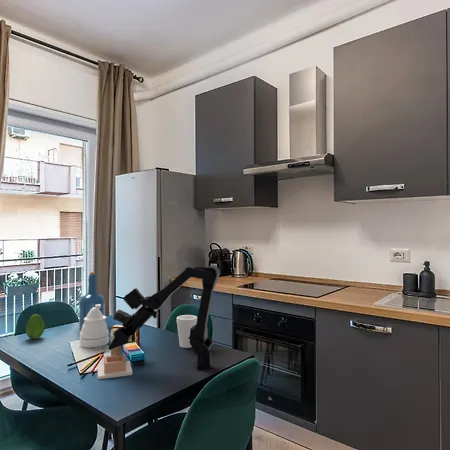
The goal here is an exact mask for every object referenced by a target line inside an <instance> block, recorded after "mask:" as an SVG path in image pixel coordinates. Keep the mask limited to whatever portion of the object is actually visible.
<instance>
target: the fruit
mask: <svg viewBox="0 0 450 450" xmlns="http://www.w3.org/2000/svg"><path fill="white" fill-rule="evenodd" d="M45 326H46V325H45V322H44V320H43V318H42V317H41V315H40V314H37V313H34V314H32V315H31V316H30V318H29V320H28V322H27V323H26V328H25V334H26V336H27V337H28V338H29V339H31V340H36V339H39V338H41V336H42V335H43V334H44V332H45Z"/></svg>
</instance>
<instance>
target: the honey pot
mask: <svg viewBox="0 0 450 450" xmlns="http://www.w3.org/2000/svg"><path fill="white" fill-rule="evenodd" d="M100 307H101V304H97V305H95V307H93V308H92V309H91V310H90V311H89V313H88V314H87V317H85V318H84V324H83V326H82V329H81V330H80V332H79V346H80V345H82V346H89V347H88V348H98V347H97V346H99V347H102V345H103V346H105V344H106V345H107V344H108V343H109V335H110V334H109V333H110V331H109V329H108V326H107V323H106V320H107V316H106V315H105V316H103V315H102V313H101V311H100V310H99V309H100ZM82 346H81V347H82Z"/></svg>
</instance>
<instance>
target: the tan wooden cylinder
mask: <svg viewBox="0 0 450 450" xmlns="http://www.w3.org/2000/svg"><path fill="white" fill-rule="evenodd" d="M117 329H118V328H112V329H110V344H111V343H112V341H113V340H114V332H115V331H116V330H117ZM115 355H122V345H121V346H119V347H116V348H114V349H111V350H110V356H115Z"/></svg>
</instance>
